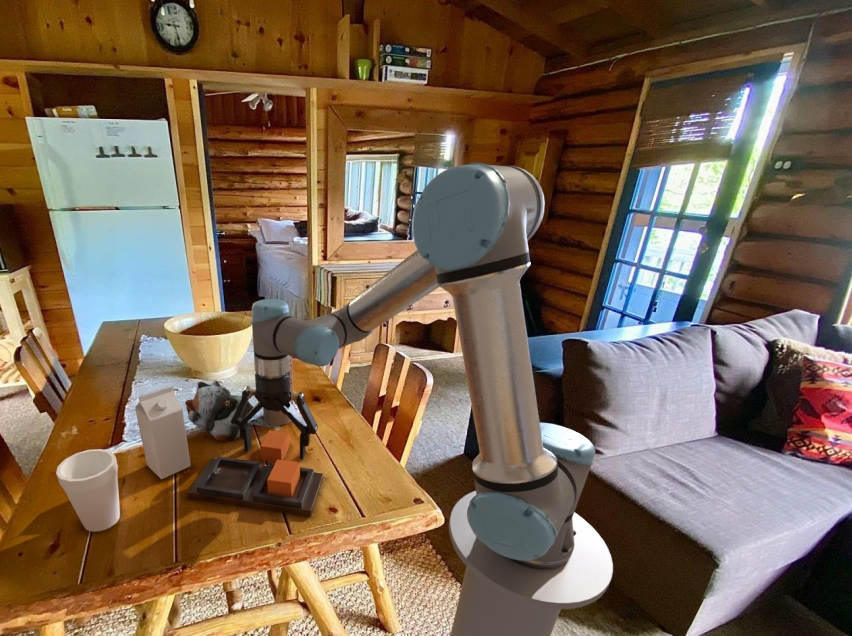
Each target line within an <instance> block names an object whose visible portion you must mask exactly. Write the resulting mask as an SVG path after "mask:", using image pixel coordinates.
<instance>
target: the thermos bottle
mask: <svg viewBox="0 0 852 636" xmlns="http://www.w3.org/2000/svg"><path fill="white" fill-rule="evenodd" d="M289 359H290V370H289V373H290V392H291V393H292V394H294V381H293V380H294V379H293V375H294V374H293V357H291V356H289ZM290 403H291V404H292V405H293V406H294V401H293V400H291V401H290ZM285 407H286V406H285ZM262 410H263V420H264V422H265V423H266V424H268V425H272V426H283V425H287V424H289V423H291V422H292V421H291V420H290V419H289V417H288V416H287V415H284V414H283V412H282V411H279V412H277V411H273V410H270V411H268V410H266V409H264V408H262Z"/></svg>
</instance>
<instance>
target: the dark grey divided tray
mask: <svg viewBox="0 0 852 636" xmlns="http://www.w3.org/2000/svg"><path fill="white" fill-rule="evenodd" d="M274 465H275V463H272V462H270V463H269V464H268V465H263V464H262V462H261V461H257V460H250V459H249V460H248V459H241V458H233V457H225V456H219V455H218V456H217V457H216V458H213V457H212V458H211V459H210V460H209V461H208V462H207V464H206V465H205V467H204V468H203V469H202V471H201V472H200V473H199V475H198V476H197V477H196V478H195V480H194V481H193V483H192V484H191V485H190V487H189V488H188V489H187V491H186V496H187V499H193V500H199V501H205V502H211V503H220V504H223V505H232V506H238V507H244V508H252V509H257V510H258V509H259V510H265V511H271V512H278V513H284V514H285V513H286V514H290V515H299V516H304V517H312V516H313V512H314V509H315V505H316V503H317V499H318V496H319V493H320V490H321V487H322V485H323V480H324V473H321V472H315V469H313V468H307V467H302V466H300V478H299V481H298V484H297V486H296V489H295V491H294V494H293V496H292V498H287V497H280V496H274V495H268V487H267V479H268V477H269V475H270V473H271V471H272V469H273V467H274Z"/></svg>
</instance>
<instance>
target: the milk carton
mask: <svg viewBox="0 0 852 636" xmlns="http://www.w3.org/2000/svg"><path fill="white" fill-rule="evenodd" d="M138 401H139V402H138V403H137V405H136V406H135V407H134V410H135V414H136V419H137V423H138V429H139V434H140V440H141V443H142V449H143V454H144V458H145V459H144V460H145V463H146V466H147V467H148V468H149V469H150V470H151V471H152V472H153V473H154V474H155V475H156V476H157V477H158V478H159V479H160V480H164V479H166V478H168V477H170V476H173V475H175V474H176V473H179V472H181V471H183V470H186V469H187V468H190V467H191V465H192V464H191V457H190V451H189V443H188V437H187V429H186V424H185V417H184V410H183V407H182V405H181V403H180V401H179V399H178V398H177V395H176V394H175V393H174V390H173V386H168V387H165V388H162V389H159V390H156V391H152V392H150V393H146V394H143V395H139V396H138Z"/></svg>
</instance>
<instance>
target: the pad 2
mask: <svg viewBox="0 0 852 636" xmlns="http://www.w3.org/2000/svg"><path fill="white" fill-rule="evenodd" d="M274 464H275V465H274V467H273V469H272V471H271V473H270V475H269V477H268V479H267V487H268V495H274V496H280V497H287V498H292V496H293V494H294V491H295V489H296V486H297V484H298V481H299V478H300V467H301V462H298V461H292V460H284V459H283V460H277V461H276V462H274Z"/></svg>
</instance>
